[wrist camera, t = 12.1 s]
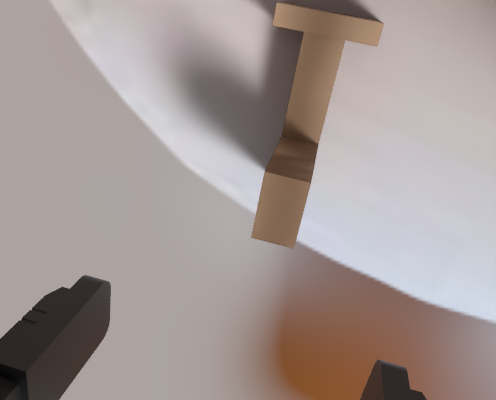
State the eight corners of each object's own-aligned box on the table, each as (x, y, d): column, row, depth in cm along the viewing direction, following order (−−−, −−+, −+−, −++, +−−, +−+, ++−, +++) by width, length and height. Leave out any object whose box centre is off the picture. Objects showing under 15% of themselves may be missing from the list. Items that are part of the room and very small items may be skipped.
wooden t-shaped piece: (380, 21, 26) (395, 30, 18) (331, 191, 31) (326, 256, 23) (283, 2, 27) (256, 3, 19) (251, 171, 32) (219, 229, 24)
